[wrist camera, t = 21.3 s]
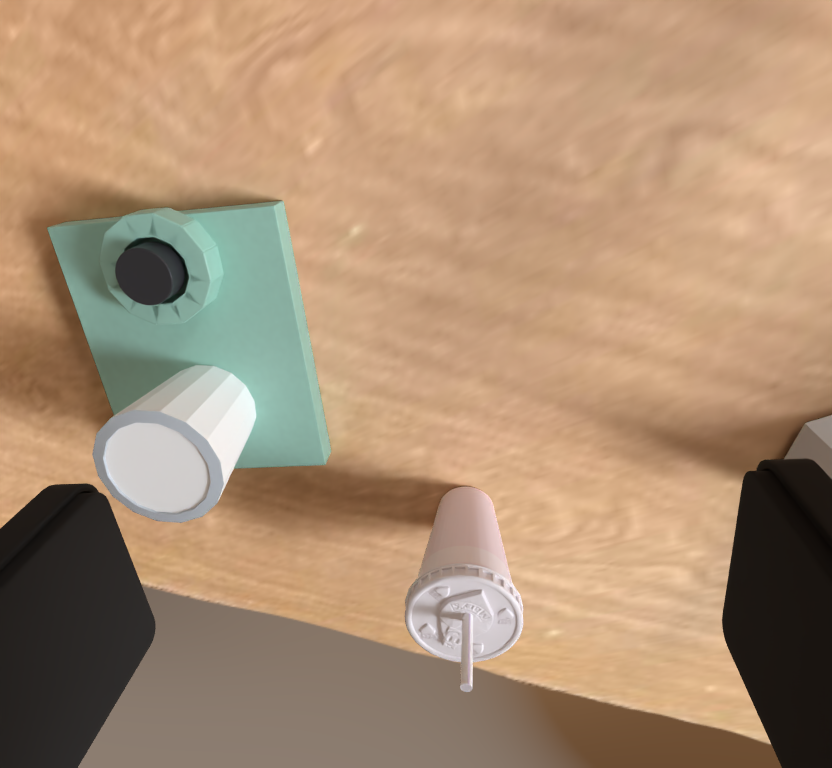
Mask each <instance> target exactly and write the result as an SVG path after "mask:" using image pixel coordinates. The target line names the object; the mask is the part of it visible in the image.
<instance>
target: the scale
mask: <svg viewBox="0 0 832 768" xmlns="http://www.w3.org/2000/svg"><path fill="white" fill-rule="evenodd" d="M47 230H48V232H49V235H50V238H51V241H52V244H53V246H54V249H55V252H56V255H57V258H58V260H59V263H60V266H61V269H62V272H63V274H64V277H65V280H66V283H67V286H68V288H69V291H70V294H71V297H72V299H73V302H74V305H75V308H76V311H77V313H78V316H79V319H80V322H81V325H82V327H83V330H84V333H85V336H86V339H87V341H88V344H89V347H90V350H91V353H92V355H93V358H94V361H95V364H96V367H97V369H98V372H99V375H100V378H101V381H102V383H103V386H104V389H105V392H106V394H107V397H108V400H109V403H110V406H111V408H112V411H113V414H114V416H115V415H116V414H117V413H119V412H120V411H122V410H123V409H125V408H126V407H128V406H129V405H131V404H132V403H134V402H135V401H137V400H138V399H140V398H141V397H143V396H144V395H146V394H147V393H149V392H150V391H152V390H153V389H155V388H156V387H157V386H159V385H160V384H162V383H163V382H165V381H166V380H168V379H169V378H171V377H172V376H174V375H175V374H177V373H178V372H180V371H181V370H184V369H187V368H190V367H192V366H195V365H206V366H216V367H218V368H220V369H223V370H225V371H228V372H230V373H232V374H233V375H234V376H236V377H237V378H238V379H239V380H240V381H241V382H242V383H244V384H245V385H246V387H247V388H248V390H249V392H250V394H251V396H252V397H253V399H254V401H255V409H256V419H255V422H254V425H253V428H252V431H251V433H250V435H249V437H248V439H247V441H246V444H245V446H244V448H243V450H242V452H241V454H240V456H239V458H238V461H237V463H236V465H235V467H234V469H236V468H261V467H287V466H312V465H326V462H327V460H328V457H329V455H330V453H331V447H330V442H329V437H328V432H327V426H326V421H325V416H324V411H323V405H322V400H321V395H320V390H319V384H318V379H317V374H316V369H315V364H314V358H313V353H312V348H311V343H310V337H309V332H308V327H307V322H306V316H305V311H304V306H303V301H302V296H301V290H300V285H299V280H298V275H297V269H296V264H295V259H294V254H293V248H292V243H291V238H290V233H289V228H288V222H287V217H286V212H285V207H284V202H283V201H274V202H264V203H254V204H244V205H234V206H223V207H213V208H203V209H193V210H182V211H176V210H173V209H171V208H168V207H164V208H154V209H144V210H139V211H136V212H133V213H130V214H127V215H125V216H121V217H111V218H101V219H90V220H80V221H70V222H64V223H60V224H57V225H54V226H51V227H48V228H47ZM145 242H158V243H162V244H164V245H166V246H168V247H169V248H171V249H172V250H173V251H174V252H175V253H176V254H177V255H178V256H179V258H180V259H181V261H182V263H183V266H184V270H185V280H184V284H183V286H182V288H181V289H180V291H179V292H177V293H176V294H175V295H173V296H172V297H170V298H168V299H167V300H165V301H164V302H162V303H160V304H157V305H143V304H140V303H137V302H135V301H134V300H132V299H130V298H129V297H128V296H127V295H126V294H125V293H124V292H123V291H122V289H121V288H120V286H119V284H118V282H117V279H116V274H115V267H116V263H117V260H118V258H119V257H120V255H121V254H122V253H123V252H125V251H126V250H128V249H130V248H133V247H135V246H137V245H140V244H142V243H145Z"/></svg>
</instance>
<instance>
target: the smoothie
mask: <svg viewBox="0 0 832 768" xmlns="http://www.w3.org/2000/svg"><path fill="white" fill-rule="evenodd" d="M405 605H406V610H405V622H406V626H407V629H408V631H409V633H410V635H411V636H412V638H413V639H414V640H415V641H416V642H417V643H418V644H419V645H420V646H421V647H422V648H424V649H425V650H426V651H428V652H430V653H431V654H433V655H436V656H438V657H440V658H443V659H447V660H450V661H457V662H461V682H460V683H461V684H460V688H461V690H462V691H464V692H469V691H471V690H472V670H473V662H478V661H485V660H488V659H491V658H494V657H496V656H499V655H501V654H502V653H504V652H506V651H507V650H508V649H510V648H511V647H512V646H513V645H514V644H515V642H516V641H517V640H518V638H519V636H520V634H521V632H522V628H523V604H522V600H521V596H520V594H519V593H518V591H517V590H516V588H515V587H514V585H513V584H512V580H511V576H510V572H509V568H508V564H507V560H506V556H505V552H504V548H503V543H502V539H501V535H500V531H499V527H498V523H497V519H496V514H495V510H494V506H493V503H492V501H491V499H490V497H489V496H488V495H487V494H486V493H484V492H483V491H481V490H479V489H477V488H473V487H458V488H454V489H452V490H450V491H449V492H447V493H446V494H445V495H444V496H443V497H442V499H441V501H440V504H439V507H438V511H437V514H436V517H435V521H434V524H433V527H432V531H431V534H430V538H429V541H428V544H427V548H426V551H425V554H424V558H423V561H422V565H421V568H420V571H419V574H418V578H417V579H416V580H415V582H414V583H413V584H412V586H411V587H410V588H409V590H408V593H407V596H406V599H405Z"/></svg>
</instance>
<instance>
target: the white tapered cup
mask: <svg viewBox="0 0 832 768" xmlns="http://www.w3.org/2000/svg"><path fill="white" fill-rule="evenodd" d="M255 419H256V409H255V401H254V399H253V397H252V396H251V394H250V392H249V390H248V388H247V387H246V385H245V384H244V383H242V382H241V381H240V380H239V379H238V378H237V377H236V376H234V375H233V374H232V373H230V372H228V371H225V370H223V369H220V368H218V367H216V366H206V365H195V366H192V367H190V368H187V369H184V370H181V371H180V372H178V373H177V374H175V375H174V376H172V377H171V378H169V379H168V380H166V381H165V382H163V383H162V384H160V385H159V386H157V387H156V388H155V389H153V390H152V391H150V392H149V393H147V394H146V395H144V396H143V397H141V398H140V399H138V400H137V401H135V402H134V403H132V404H131V405H129V406H128V407H126V408H125V409H123V410H122V411H120V412H119V413H117V414H116V415H115V416H113V417H112V418H110V419H109V421H108V422H107V423H106V424H105V425H104V426H103V427H102V428H101V429H100V431H99V432H98V433H97V435H96V439H95V444H94V449H93V458H94V462H95V466H96V469H97V473H98V476H99V478H100V479H101V481H102V482H103V483H104V485H105V486H106V488H107V489H108V490H109V492H110V493H111V495H112V496H113V497H114V498H116V499H117V500H118V501H120V502H121V503H122V504H124V505H125V506H126V507H128V508H129V509H130V510H132V511H133V512H135V513H138V514H140V515H143V516H146V517H148V518H151V519H153V520H156V521H164V522H179V523H182V522H185V521H189V520H192V519H196V518H199V517H202V516H203V515H205V514H206V513H207V512H208V511H209V510H210V509H211V508H212V507H213V506H215V505H216V504H217V503H218V501H219V499H220V496H221V494H222V492H223V490H224V488H225V486H226V484H227V482H228V480H229V477H230V475H231V473H232V471H233V469H234V467H235V465H236V463H237V461H238V458H239V456H240V454H241V452H242V450H243V448H244V446H245V444H246V441H247V439H248V437H249V435H250V433H251V431H252V428H253V425H254V422H255Z"/></svg>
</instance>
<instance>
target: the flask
mask: <svg viewBox="0 0 832 768" xmlns="http://www.w3.org/2000/svg"><path fill="white" fill-rule="evenodd" d="M803 458H808V459H812V460H814V461H815V462H816V463H817V464H818V465H819V466H820V467H821V468H822V469H823V470H824V471H825V472H826V473H827V475H828V476H829V477H830V478H831V479H832V415H830V416H827V417H824V418H820V419H817V420H814V421H810V422H807V423H805V424H804V425H803V427H802V429H801V431H800V432H799V434H798V436H797V437H796V439H795V441H794V443H793V444H792V446H791V448H790V449H789V451H788V453H787V455H786V456H785V458H784V459H803Z"/></svg>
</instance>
